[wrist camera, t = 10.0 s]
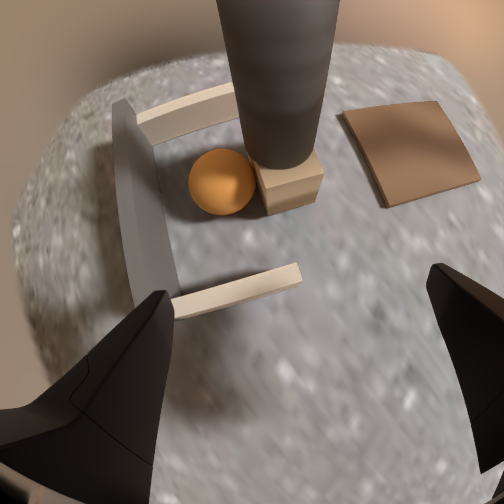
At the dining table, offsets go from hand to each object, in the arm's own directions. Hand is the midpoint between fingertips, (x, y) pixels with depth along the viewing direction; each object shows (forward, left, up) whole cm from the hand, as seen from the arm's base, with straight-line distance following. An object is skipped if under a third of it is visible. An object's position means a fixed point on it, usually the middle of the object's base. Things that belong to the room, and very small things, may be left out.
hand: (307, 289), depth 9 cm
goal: (+8, +3, -8) cm, 12 cm away
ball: (+8, +2, -6) cm, 10 cm away
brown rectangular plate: (+8, -13, -8) cm, 17 cm away
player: (+8, -2, -8) cm, 12 cm away
